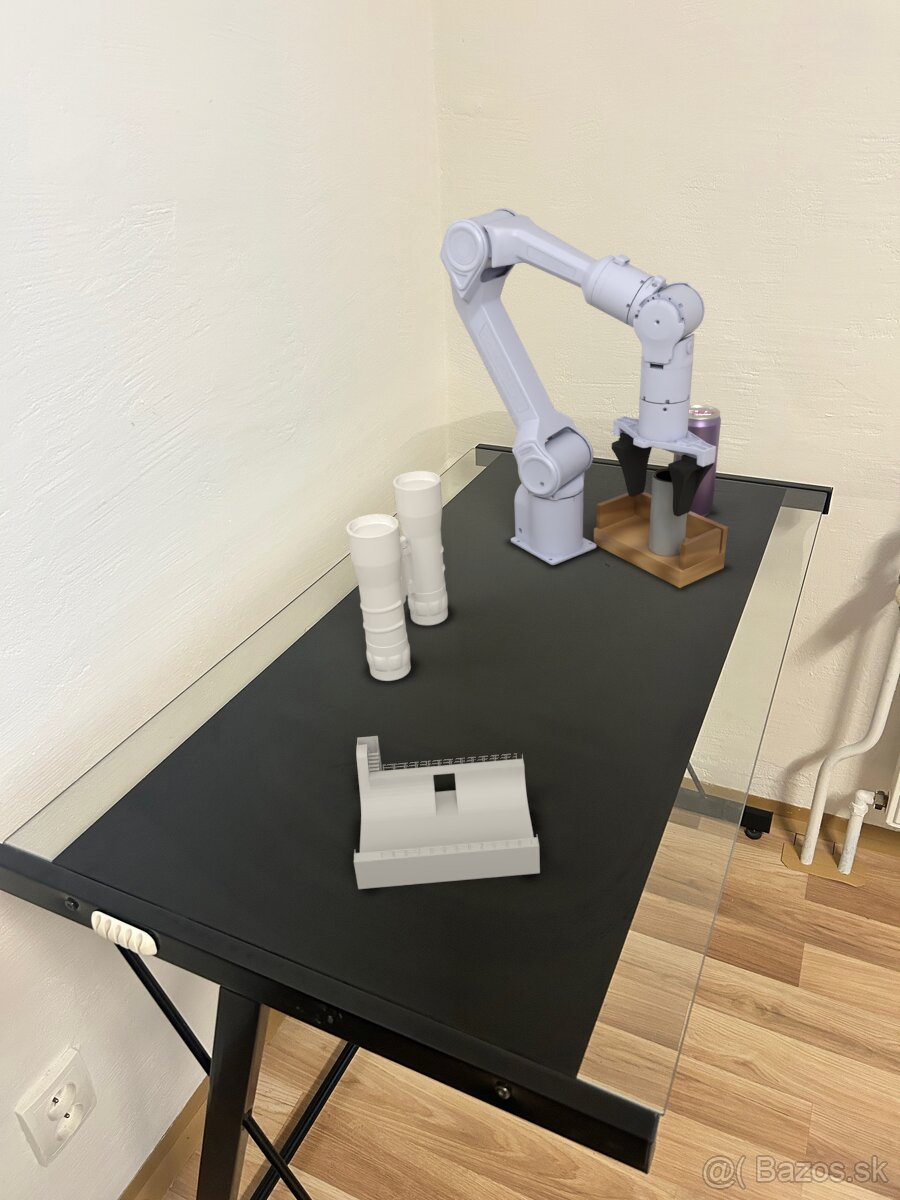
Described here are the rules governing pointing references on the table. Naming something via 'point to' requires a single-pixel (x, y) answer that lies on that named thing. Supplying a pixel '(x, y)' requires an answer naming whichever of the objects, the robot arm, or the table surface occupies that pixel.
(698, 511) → the beverage can
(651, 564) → the wooden tray
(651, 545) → the grey tube
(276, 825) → the table surface
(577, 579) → the table surface
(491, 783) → the skate ramp
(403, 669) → the binoculars
